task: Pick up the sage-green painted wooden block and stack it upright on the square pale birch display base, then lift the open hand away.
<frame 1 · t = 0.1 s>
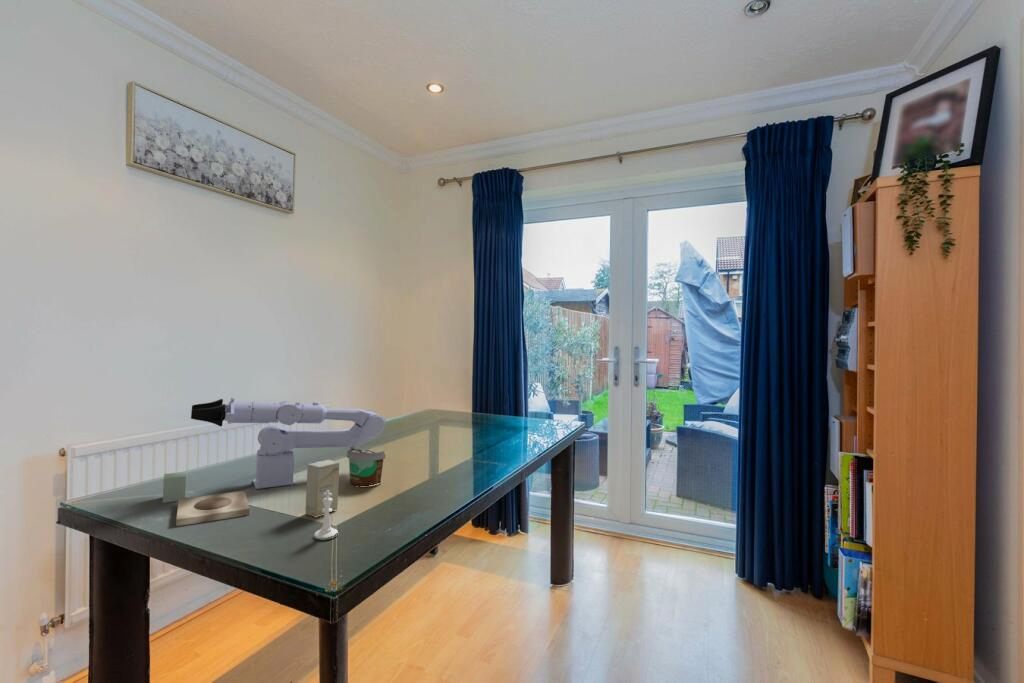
hand: (191, 411, 120), 22 cm above the table, tool horizontal, fingers open, 7 cm apart
chess piece: (326, 536, 100), on the table
green block: (174, 498, 117), on the table
food container: (360, 485, 134), on the table
skincare box: (321, 513, 113), on the table
display base: (213, 510, 111), on the table
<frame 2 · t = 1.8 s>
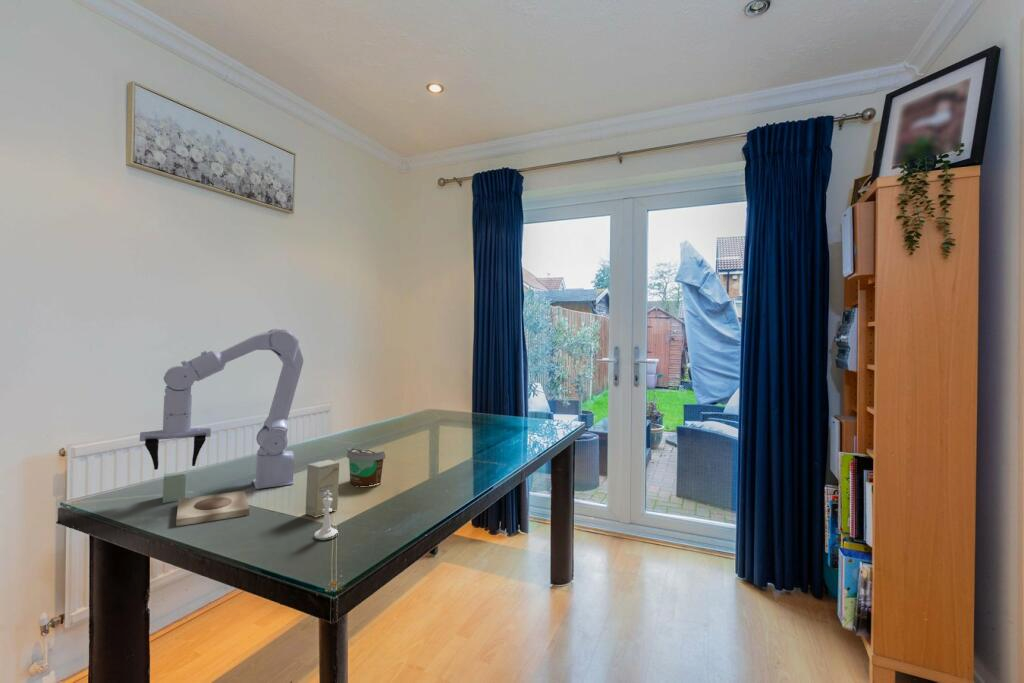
hand: (175, 466, 117), 8 cm above the table, tool pointing down, fingers open, 7 cm apart
nothing on the table moved.
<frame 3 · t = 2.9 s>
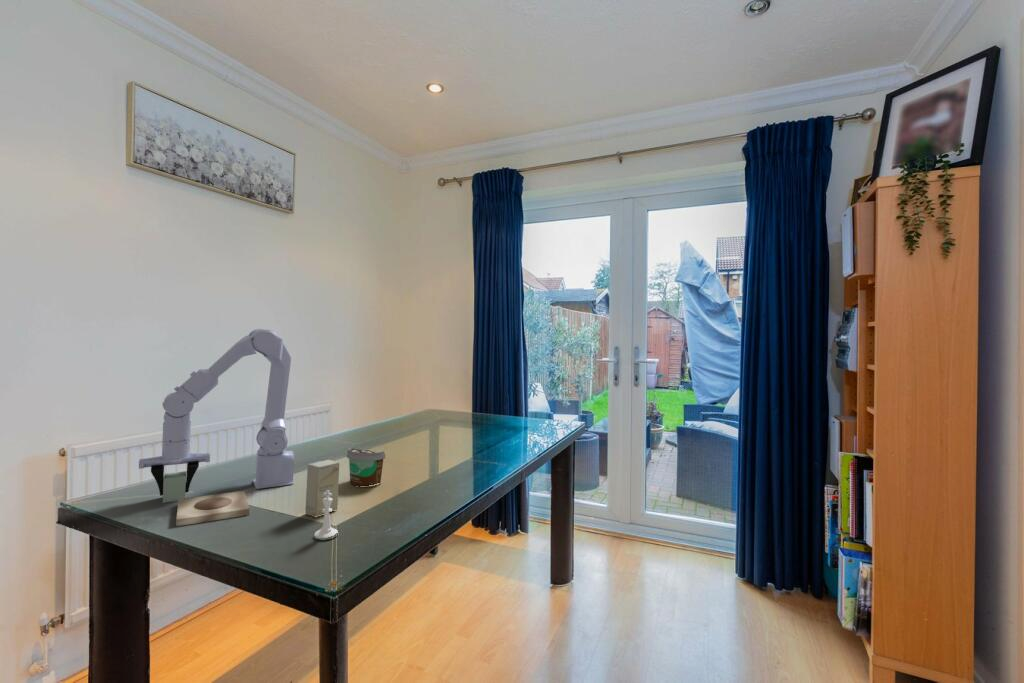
hand: (174, 492, 117), 1 cm above the table, tool pointing down, fingers closed on green block, 4 cm apart
green block: (174, 498, 117), on the table, touching gripper
everything else where it was.
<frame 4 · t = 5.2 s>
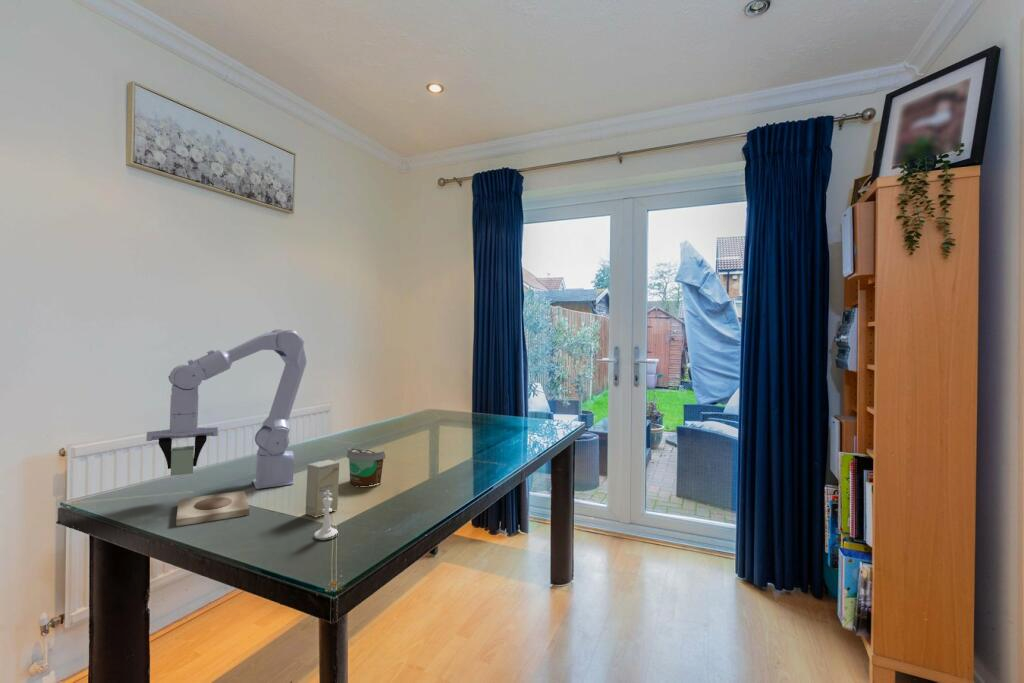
hand: (182, 466, 116), 9 cm above the table, tool pointing down, fingers closed on green block, 4 cm apart
green block: (182, 472, 116), point 7 cm above the table, touching gripper
everything else where it was.
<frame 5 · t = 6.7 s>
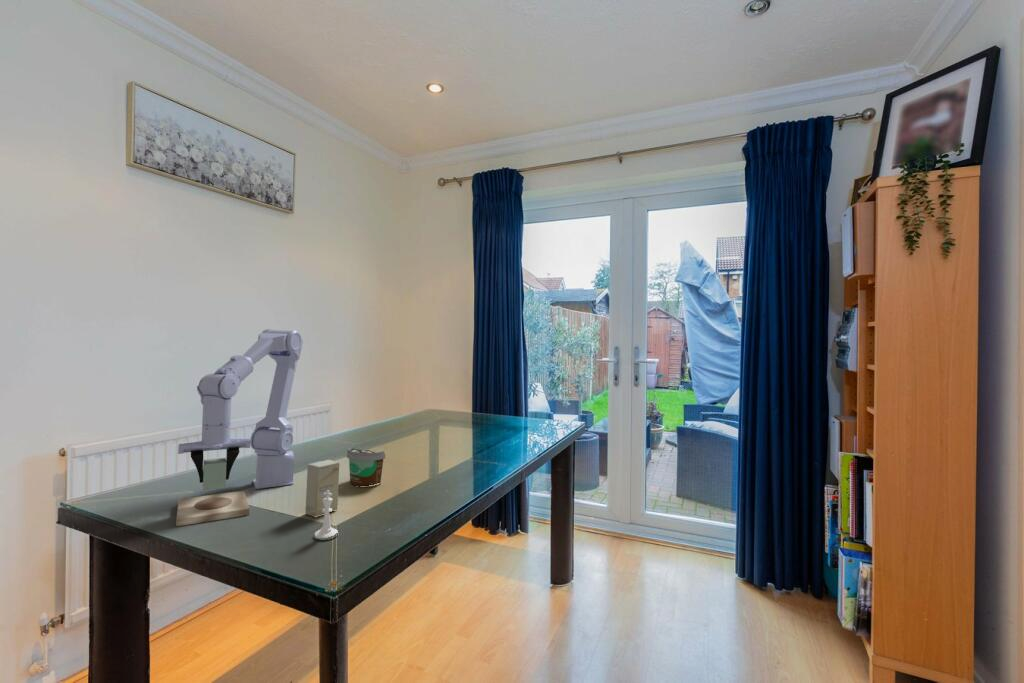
hand: (214, 479, 111), 7 cm above the table, tool pointing down, fingers closed on green block, 4 cm apart
green block: (214, 485, 111), point 6 cm above the table, touching gripper
everything else where it was.
when the fingers open (4 cm above the table, at t = 7.8 s): green block drops 1 cm, resting on display base.
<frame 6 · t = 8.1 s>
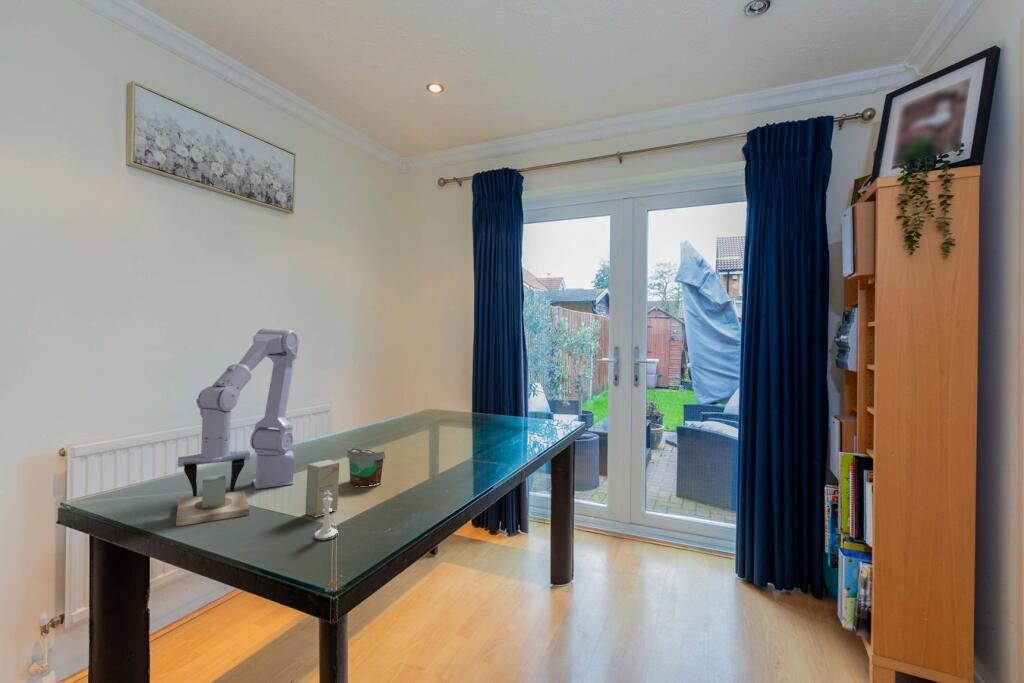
hand: (213, 492, 111), 4 cm above the table, tool pointing down, fingers open, 7 cm apart
green block: (213, 503, 111), point 2 cm above the table, touching display base
everything else where it was.
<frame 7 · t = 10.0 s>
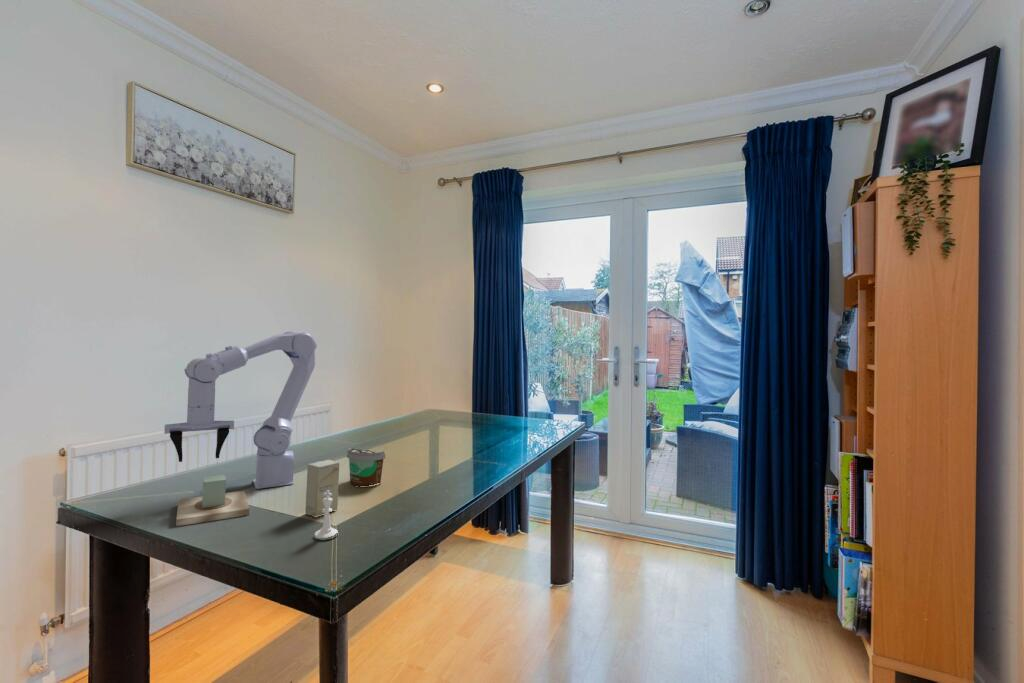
hand: (199, 459, 117), 10 cm above the table, tool pointing down, fingers open, 7 cm apart
nothing on the table moved.
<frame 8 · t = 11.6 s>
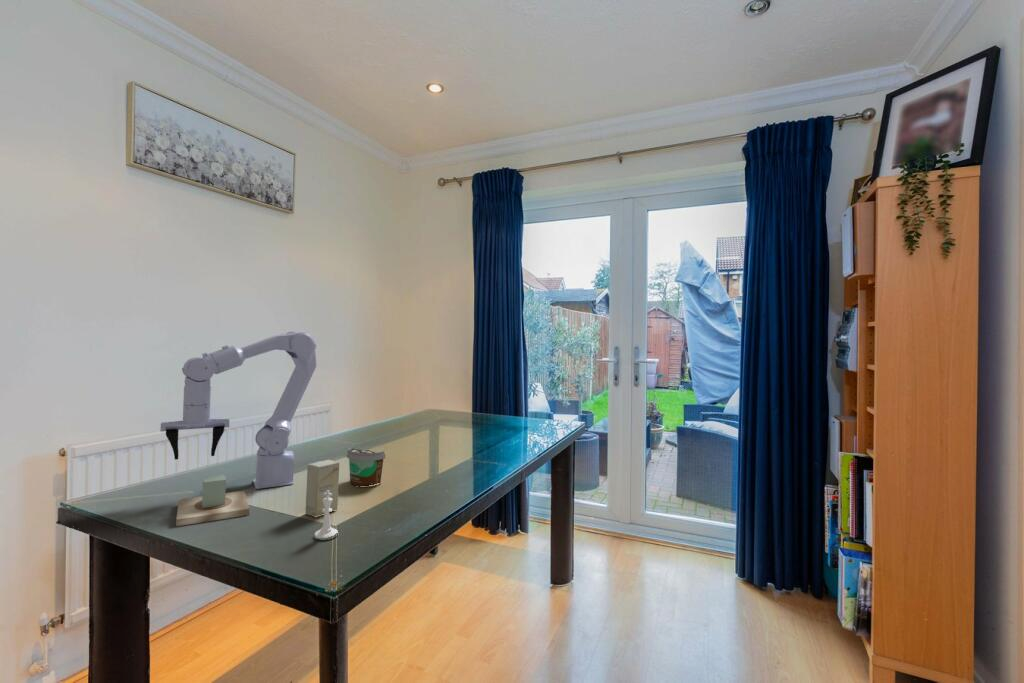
hand: (194, 456, 118), 10 cm above the table, tool pointing down, fingers open, 7 cm apart
nothing on the table moved.
at the end: green block 0.0 cm off-centre on the display base, point 1.7 cm above the display base's base; green block tilted 0°; the gripper is holding nothing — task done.
